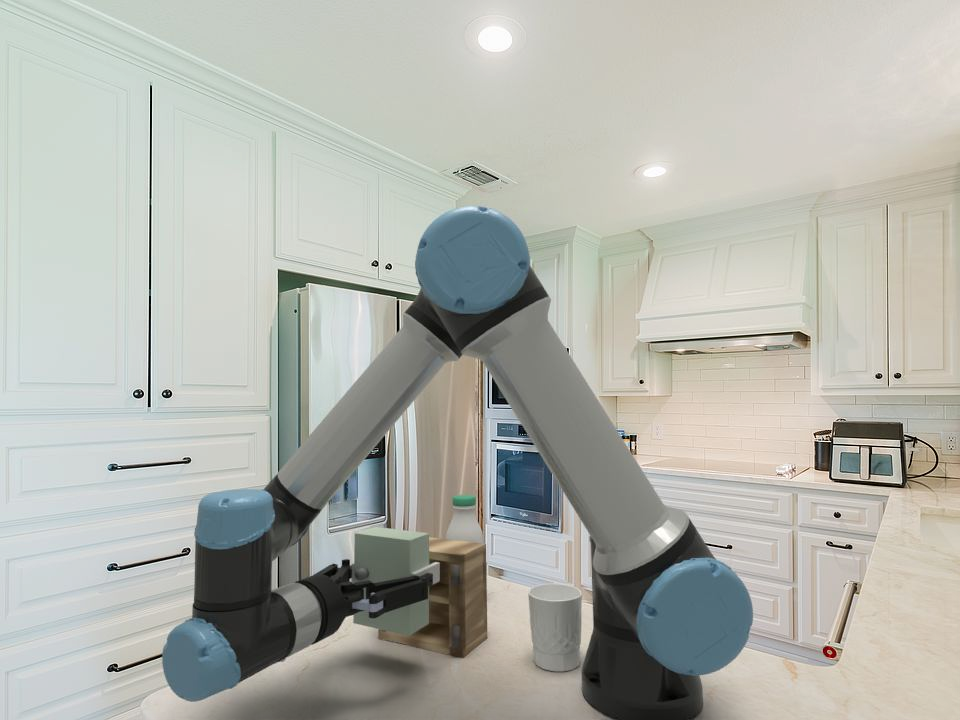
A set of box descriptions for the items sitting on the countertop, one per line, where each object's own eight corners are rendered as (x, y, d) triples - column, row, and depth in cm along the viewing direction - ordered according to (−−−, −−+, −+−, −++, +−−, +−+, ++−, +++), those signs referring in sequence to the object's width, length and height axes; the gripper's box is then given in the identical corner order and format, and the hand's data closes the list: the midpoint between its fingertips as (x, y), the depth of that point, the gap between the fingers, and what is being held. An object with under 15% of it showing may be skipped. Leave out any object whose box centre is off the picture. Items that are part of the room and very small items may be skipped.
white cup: (563, 680, 77) (561, 604, 77) (519, 662, 82) (517, 592, 83) (594, 660, 82) (591, 590, 83) (550, 645, 88) (548, 580, 88)
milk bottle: (437, 602, 108) (436, 497, 109) (461, 591, 114) (460, 492, 116) (469, 610, 103) (468, 500, 105) (492, 598, 110) (491, 494, 111)
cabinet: (487, 637, 91) (486, 543, 92) (460, 659, 83) (459, 556, 84) (406, 621, 98) (406, 534, 99) (375, 640, 90) (375, 545, 92)
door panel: (428, 623, 82) (429, 533, 83) (404, 639, 77) (404, 542, 78) (374, 612, 87) (375, 526, 88) (347, 626, 81) (349, 534, 82)
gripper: (235, 629, 72) (351, 581, 91) (375, 666, 61) (472, 603, 81) (237, 569, 72) (352, 534, 92) (376, 596, 62) (472, 550, 82)
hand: (408, 566), depth 87 cm, fingers closed on door panel, 10 cm apart
